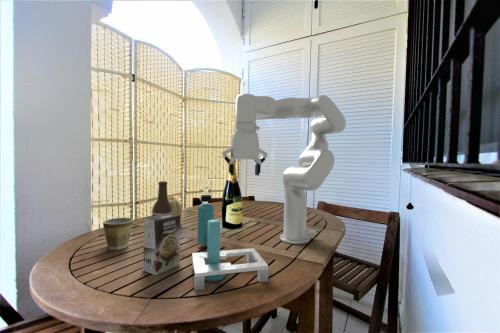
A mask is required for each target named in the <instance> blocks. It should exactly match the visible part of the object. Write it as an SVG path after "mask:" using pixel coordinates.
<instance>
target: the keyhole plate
mask: <svg viewBox="0 0 500 333" xmlns="http://www.w3.org/2000/svg"><path fill="white" fill-rule="evenodd" d="M239 256H240V257H241V256H246V263H239V264H238V263H236V264H232V263H231V262H222V263H221V262H220V263H219V264H209V265H207V264H206V263H205V262H207V251H204V252H192V256H191V257H192V258H191V262H192V263H191V264H192V265H191V267H192V272H193V271H194V282H193V283H194V291H202V290H203V291H204V290H205V276H210V275H219V274H225V275H226V274H236V273H245V272H254V271H255V272H256V271H257V272H256V276H257V277H256V279H257V281H258V282H259V283H268V282H269V265H268V264H267V262H266V261H265V260H264V258H263V257H262V256H261V255H260V253H259V252H258V251H257V250H256V249H255V248H254V247H253V248H251V247H250V248H241V249H240V248H239V249H227V250H220V261H221V260H227V258H228V257H239Z"/></svg>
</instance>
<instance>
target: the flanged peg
mask: <svg viewBox="0 0 500 333" xmlns="http://www.w3.org/2000/svg"><path fill="white" fill-rule="evenodd" d="M206 247H207V249H206V250H207V251H206V252H207V261H206V265H209V264H219V263H221V262H220V261H221V260H220V251H221V220H219V219H215V220H209V221H208V241H207V245H206ZM225 277H226V274H219V275H210V276H205V280H204V282H205V281H206V282H213V283H214V282H218V281H221V280H223V279H224V278H225Z"/></svg>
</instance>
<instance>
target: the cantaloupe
mask: <svg viewBox="0 0 500 333" xmlns="http://www.w3.org/2000/svg"><path fill="white" fill-rule="evenodd" d="M167 197H168V201H169V202H170V204H171V207H172V214H176V215H181V216H180V218H182V213H183V207H182V204H181V203H180V202H179V200H178V199H176V198H175V197H174V196H173V195H172V196H167ZM156 202H157V200H156V201H155V202H154V203H153V205H152V208H151V212H150V213H151V216H153V207H154V205H155V203H156Z"/></svg>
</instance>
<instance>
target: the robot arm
mask: <svg viewBox="0 0 500 333" xmlns="http://www.w3.org/2000/svg"><path fill="white" fill-rule="evenodd" d="M311 118H313V119H312V121H311V122H310V126H309V129H310V135H311V140H310V142H309V144H308V145H307V146H306V148H305V149H304V150H303V151H302V152H301V154H300V156H299V157H298V160H297V162H298V166H297V165H295V166H289V167H287V168H286V169H285V170H284V171H283V173H282V184H283V192H284V198H283V199H284V203H283V206H284V208H283V233H281V234H280V236H279V239H280V241H282V242H284V243H288V244H291V245H292V244H293V245H303V244H304V245H305V244H307V243H309V242H310V237H309V236H310V235H312V236H316V235H317V230H315V229H307V212H308V211H307V209H308V208H307V205H308V204H307V203H308V199H307V193H306V192H305V191H310V192H311V191H312V192H314V191H316V190H318V189H320V187H321V186H322V185H323V183H324V181H325V180H327V178H328V177H329V175H330V173H331V171H332V169H333V168H334V165H335V156H334V155H335V154H334V153H333V152H332V150H330V149H329V142H328V140H327V137H326V135H331V134H332V135H333V134H340V133H342V132H343V131H344V130H345V129H346V127H347V120H346V117H345V116H344V114H343V113H342V112H341V110H340V109H339V108H338V105H336V103H335V102H334V100H332V99H331V97H329V96H327V95H326V94H321V95H317V96H313V97H294V96H293V97H284V98H280V99H277V100H276V99H275V98H274V97H272V96H268V95H254V94H251V93H240V94H238V95H237V96H236V98H235V130H234V131H233V132H232V137H231V143H230V148H227V149H225V150H223V151H221V155H222V157H223V159H224V161H225V162H226V163H227V164H228V173H229V175H230V176H234V175H235V164H234V162H235V161H236V160H253V161H254V162H255V165H254V175H255V176H260V173H261V168H262V167H261V166H262V164H263V163H264V162H265V161H266V160H267V157H268V152H266V151H265V150H263V149H261V148H260V142H259V134H258V132H257V131H260V126H258V125H257V121H258V120H259V121H260V120H262V121H263V120H264V121H265V120H287V119H311ZM229 153H230V158H229V157H228V154H229ZM260 154H261V155H262V156H261V158H259V157H260Z"/></svg>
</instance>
